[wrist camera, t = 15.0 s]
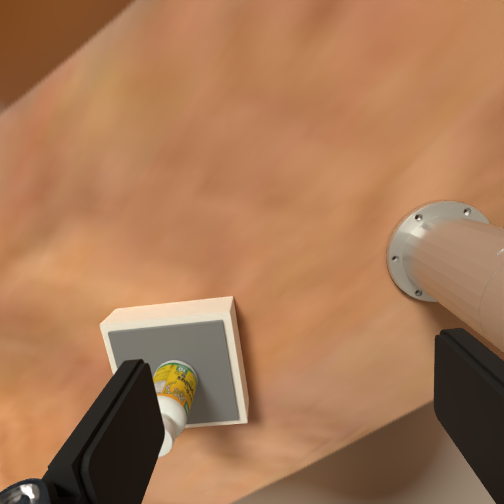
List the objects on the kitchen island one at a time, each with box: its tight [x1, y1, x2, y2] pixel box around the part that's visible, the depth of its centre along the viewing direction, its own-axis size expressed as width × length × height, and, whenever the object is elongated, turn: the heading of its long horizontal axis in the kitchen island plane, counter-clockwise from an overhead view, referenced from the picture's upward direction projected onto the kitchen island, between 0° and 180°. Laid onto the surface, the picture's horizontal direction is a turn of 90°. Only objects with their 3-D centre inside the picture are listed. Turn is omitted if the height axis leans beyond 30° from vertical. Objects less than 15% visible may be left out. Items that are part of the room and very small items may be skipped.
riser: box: [100, 296, 249, 428], centre depth 42 cm, size 16×16×5 cm
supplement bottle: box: [153, 360, 198, 457], centre depth 35 cm, size 5×5×10 cm
